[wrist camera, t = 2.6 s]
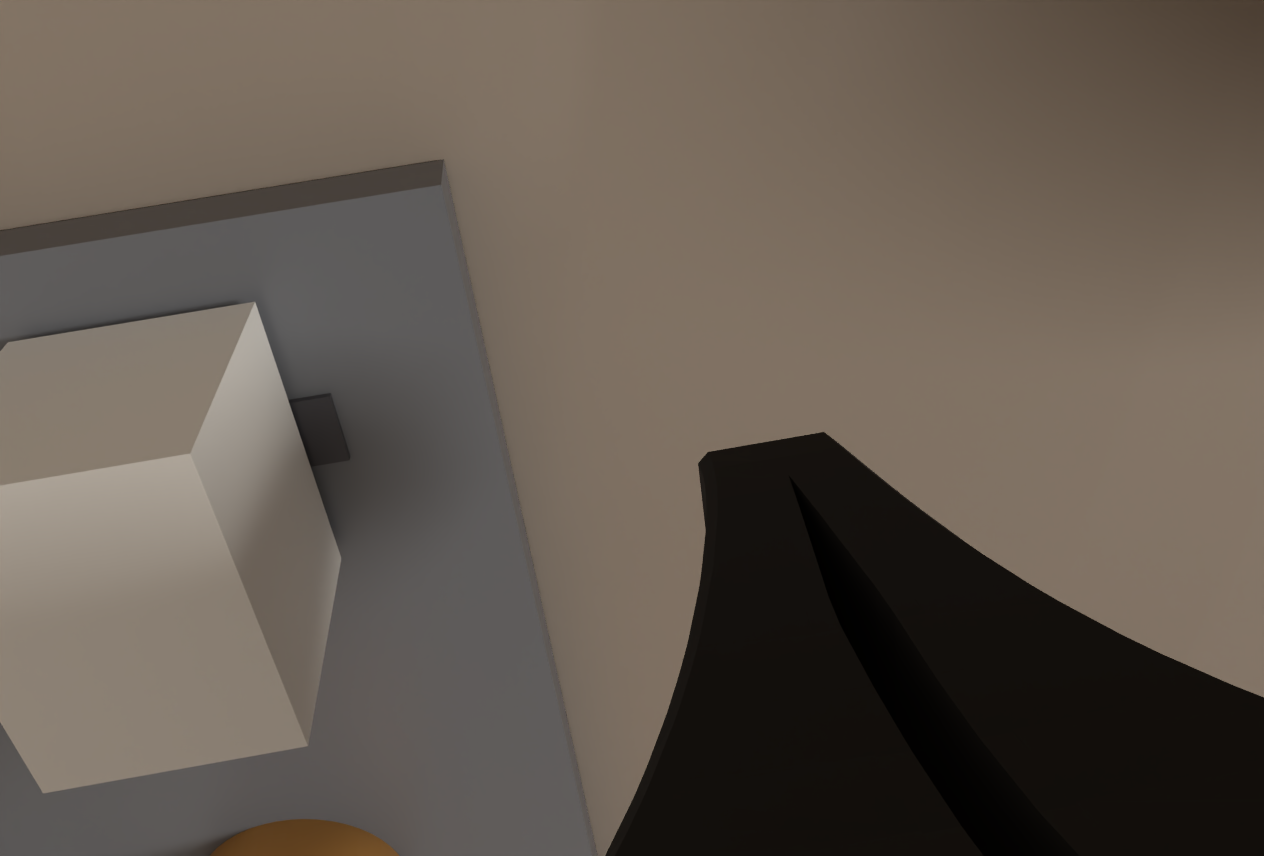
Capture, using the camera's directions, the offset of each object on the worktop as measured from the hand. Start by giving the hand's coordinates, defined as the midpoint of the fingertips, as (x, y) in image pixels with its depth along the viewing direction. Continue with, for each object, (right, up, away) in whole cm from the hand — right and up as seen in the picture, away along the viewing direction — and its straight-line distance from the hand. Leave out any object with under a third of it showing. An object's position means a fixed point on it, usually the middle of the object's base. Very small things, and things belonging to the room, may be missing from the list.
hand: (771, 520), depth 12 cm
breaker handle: (-7, +1, +3) cm, 8 cm away
